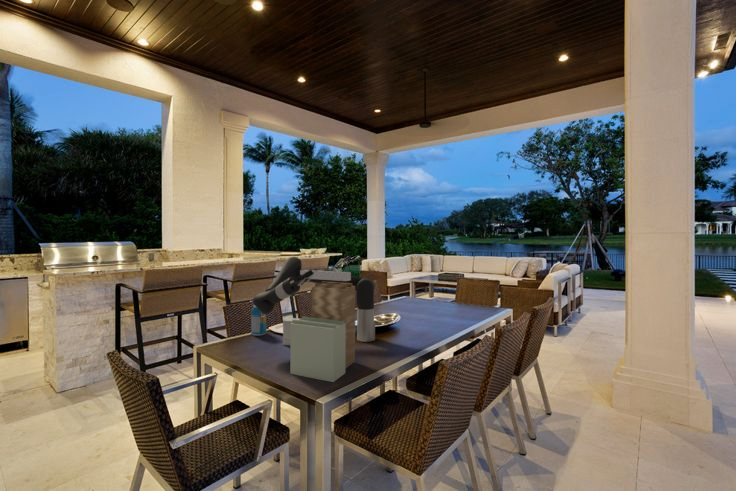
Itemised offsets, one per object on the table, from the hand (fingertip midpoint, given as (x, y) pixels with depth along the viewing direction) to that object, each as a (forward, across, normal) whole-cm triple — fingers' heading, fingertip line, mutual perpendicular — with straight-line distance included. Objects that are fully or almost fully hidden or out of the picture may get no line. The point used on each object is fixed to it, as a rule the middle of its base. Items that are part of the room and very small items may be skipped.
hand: (314, 271), depth 159 cm
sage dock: (-12, -13, +40) cm, 43 cm away
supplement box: (-41, +16, +23) cm, 50 cm away
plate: (-55, +40, +16) cm, 70 cm away
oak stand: (-12, 0, +40) cm, 41 cm away
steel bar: (+3, 0, +6) cm, 6 cm away
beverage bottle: (-66, +23, +9) cm, 70 cm away
